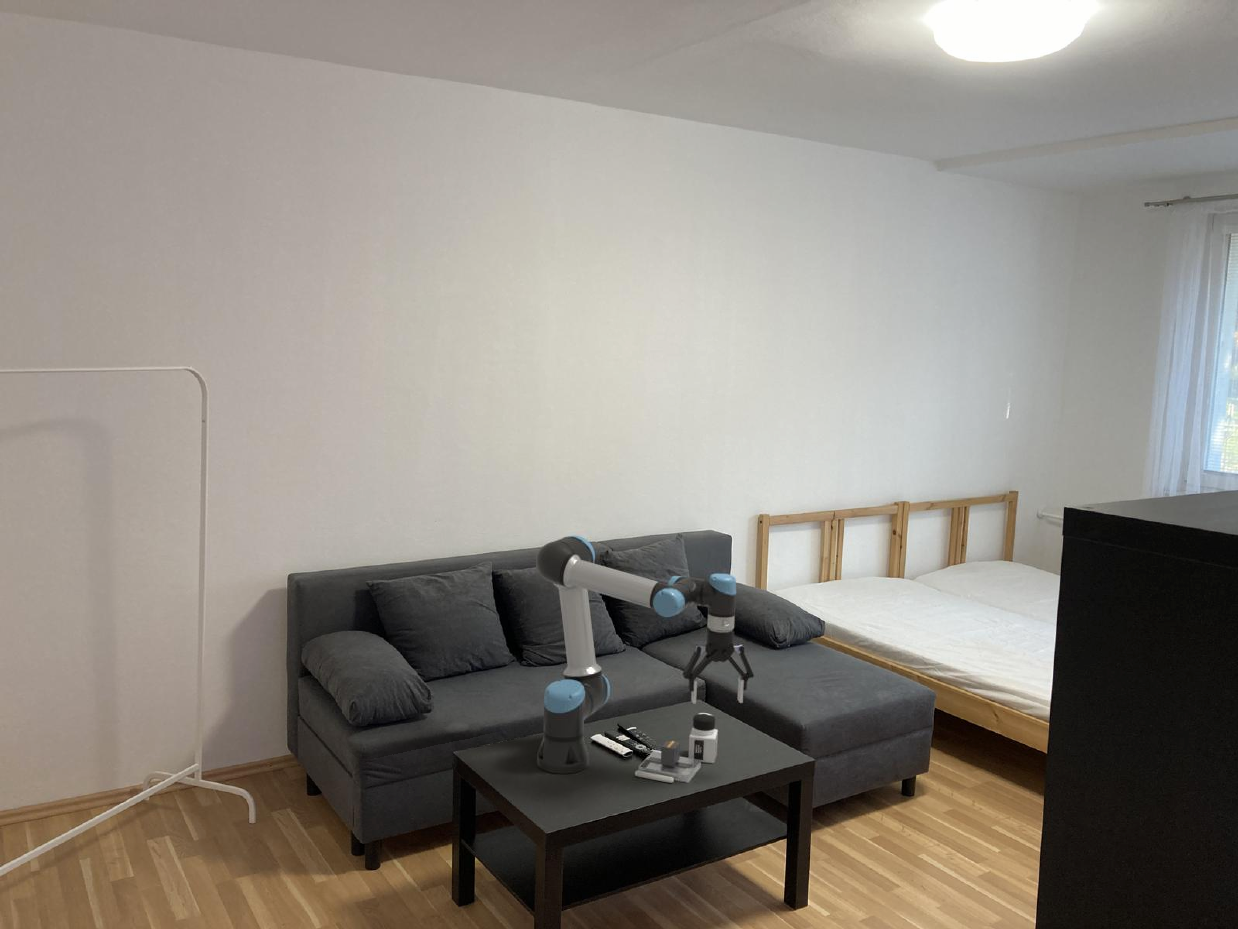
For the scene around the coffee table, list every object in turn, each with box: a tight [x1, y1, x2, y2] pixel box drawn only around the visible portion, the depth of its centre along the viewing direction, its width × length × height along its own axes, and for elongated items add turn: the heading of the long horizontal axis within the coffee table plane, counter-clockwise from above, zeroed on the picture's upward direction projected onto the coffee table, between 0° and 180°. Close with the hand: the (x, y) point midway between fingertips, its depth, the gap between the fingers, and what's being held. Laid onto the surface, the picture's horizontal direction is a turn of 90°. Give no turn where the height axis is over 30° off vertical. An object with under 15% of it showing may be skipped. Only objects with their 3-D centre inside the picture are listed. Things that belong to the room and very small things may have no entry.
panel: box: [638, 752, 702, 783], centre depth 289 cm, size 15×12×2 cm
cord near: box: [634, 770, 675, 784], centre depth 282 cm, size 12×2×2 cm, turn 68°
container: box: [688, 712, 719, 764], centre depth 298 cm, size 8×8×13 cm
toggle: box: [660, 740, 681, 766], centre depth 288 cm, size 4×5×5 cm
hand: (716, 701), depth 284 cm, fingers open, 13 cm apart
